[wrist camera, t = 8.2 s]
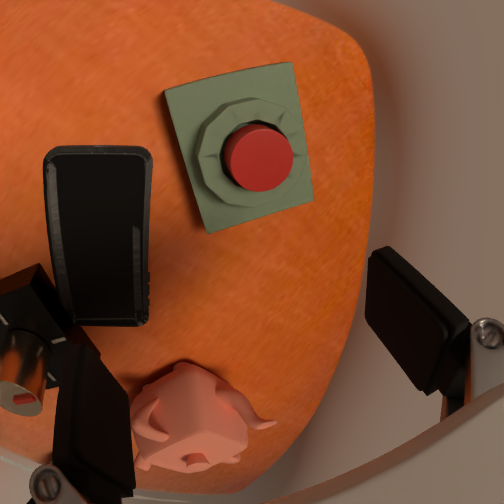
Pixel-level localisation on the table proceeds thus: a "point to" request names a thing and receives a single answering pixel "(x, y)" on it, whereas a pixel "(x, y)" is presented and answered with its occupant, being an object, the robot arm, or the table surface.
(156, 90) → the table surface
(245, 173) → the button
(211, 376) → the teapot
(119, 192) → the phone
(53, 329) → the dial panel
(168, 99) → the button box
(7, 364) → the dial
